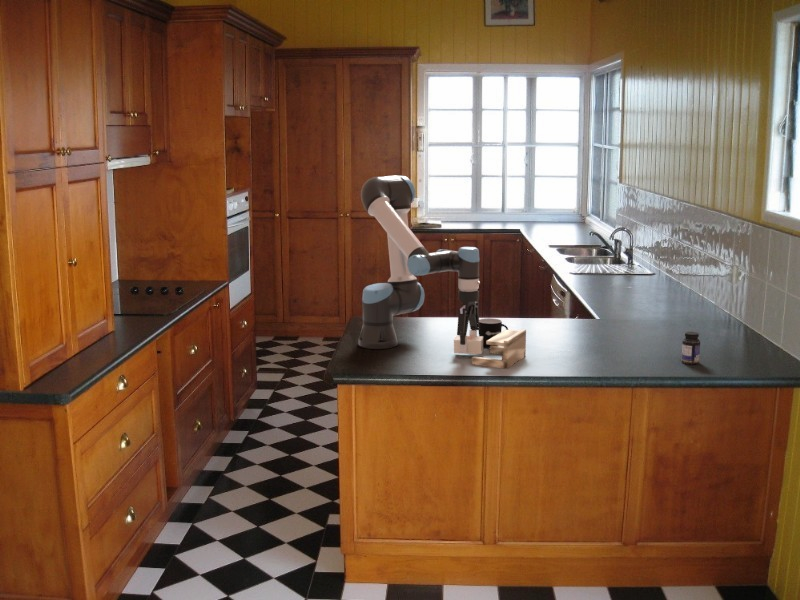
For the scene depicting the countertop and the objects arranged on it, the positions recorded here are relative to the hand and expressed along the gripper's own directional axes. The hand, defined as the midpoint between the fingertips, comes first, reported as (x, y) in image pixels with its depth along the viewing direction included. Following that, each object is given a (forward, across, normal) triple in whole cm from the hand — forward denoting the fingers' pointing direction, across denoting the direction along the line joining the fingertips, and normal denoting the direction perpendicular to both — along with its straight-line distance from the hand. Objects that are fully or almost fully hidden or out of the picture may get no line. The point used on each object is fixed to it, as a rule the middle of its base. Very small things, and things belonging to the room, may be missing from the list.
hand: (468, 350), depth 327 cm
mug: (+3, +18, -3) cm, 18 cm away
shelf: (+2, 0, -11) cm, 12 cm away
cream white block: (0, 0, 0) cm, 0 cm away
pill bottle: (+3, +28, -75) cm, 80 cm away
